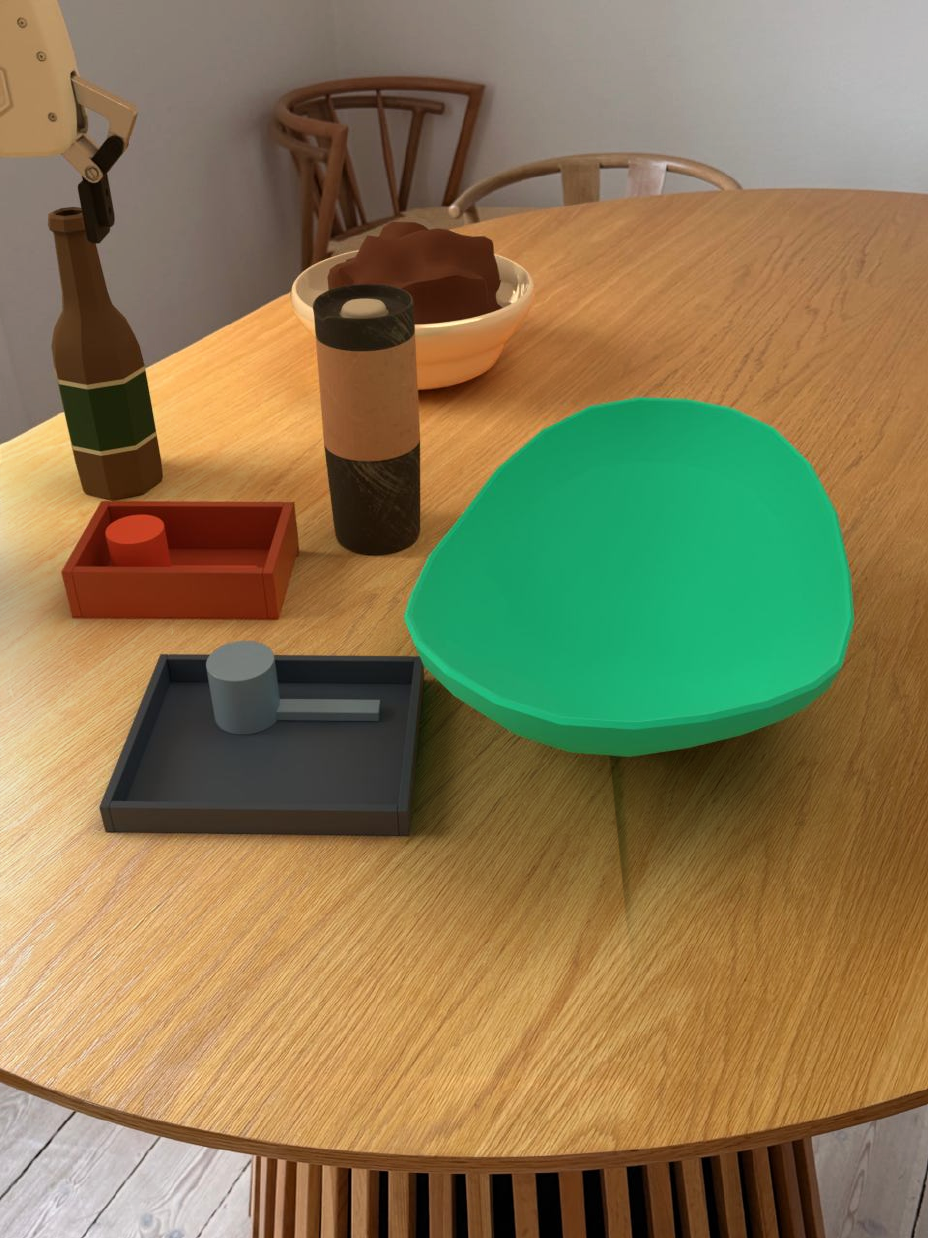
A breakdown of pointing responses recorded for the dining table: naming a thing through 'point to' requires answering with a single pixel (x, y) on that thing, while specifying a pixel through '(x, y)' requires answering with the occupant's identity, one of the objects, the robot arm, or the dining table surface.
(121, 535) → the red measuring scoop
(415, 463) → the travel mug
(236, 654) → the grey handled cylinder
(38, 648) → the dining table surface
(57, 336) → the beer bottle
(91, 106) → the robot arm
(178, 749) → the dark grey tray
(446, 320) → the bowl of brown chunks
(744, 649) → the table top decor
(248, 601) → the red bin
